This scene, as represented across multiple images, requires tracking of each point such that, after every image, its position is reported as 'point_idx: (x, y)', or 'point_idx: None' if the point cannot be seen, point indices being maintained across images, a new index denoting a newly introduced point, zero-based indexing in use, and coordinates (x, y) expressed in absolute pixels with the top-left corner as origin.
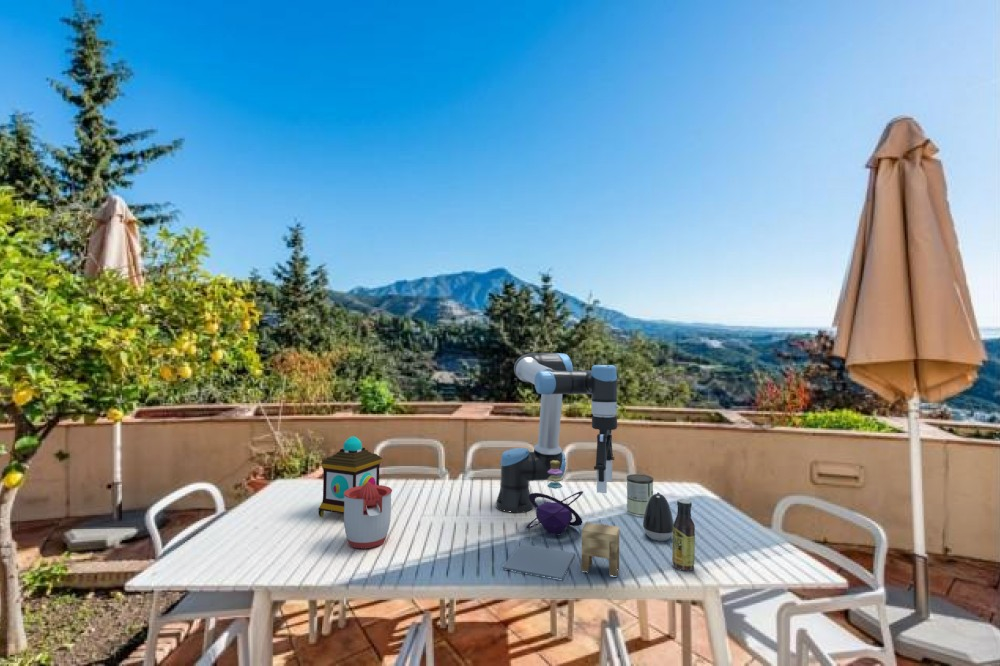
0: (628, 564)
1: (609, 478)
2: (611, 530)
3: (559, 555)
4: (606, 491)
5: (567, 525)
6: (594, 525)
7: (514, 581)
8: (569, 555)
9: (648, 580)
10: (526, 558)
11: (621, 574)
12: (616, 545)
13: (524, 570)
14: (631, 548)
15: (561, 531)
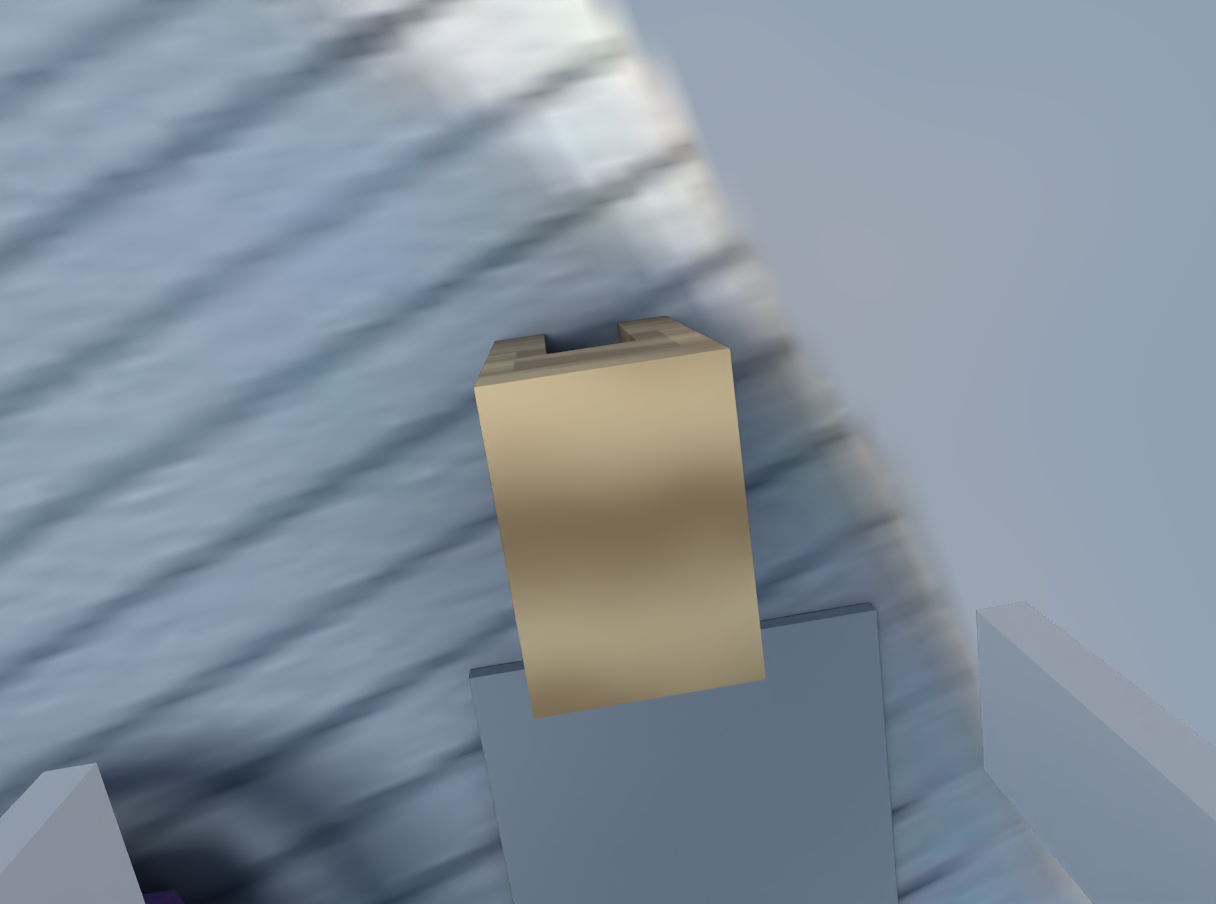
0: (400, 295)
1: (72, 859)
2: (626, 430)
3: (572, 748)
4: (1031, 616)
5: (156, 897)
6: (577, 619)
7: (992, 818)
8: None
9: (585, 98)
10: (726, 893)
11: (592, 299)
12: (706, 338)
13: (885, 830)
14: (79, 349)
15: (181, 900)
